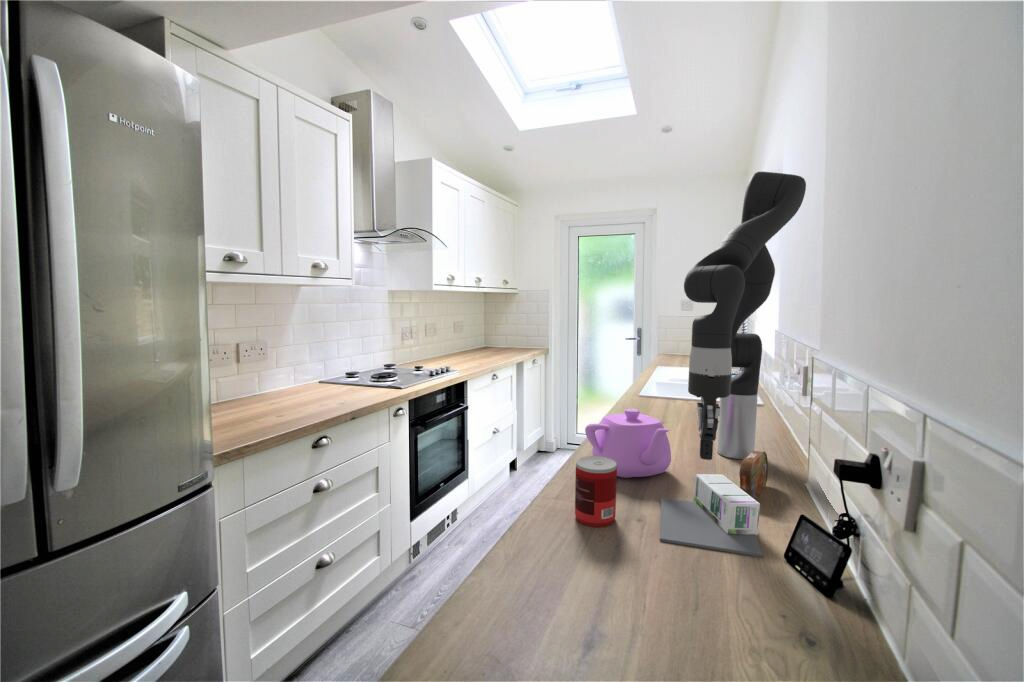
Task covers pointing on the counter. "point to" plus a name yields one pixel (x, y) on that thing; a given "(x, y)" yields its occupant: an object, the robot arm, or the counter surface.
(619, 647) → the counter surface
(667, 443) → the teapot
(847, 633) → the counter surface
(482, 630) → the counter surface
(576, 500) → the canned food
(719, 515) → the syrup box
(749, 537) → the mat
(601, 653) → the counter surface
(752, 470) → the tin
